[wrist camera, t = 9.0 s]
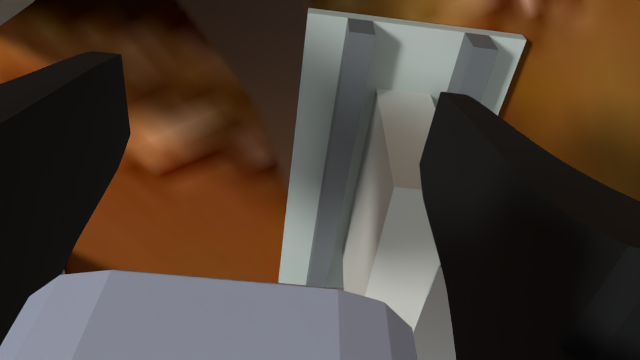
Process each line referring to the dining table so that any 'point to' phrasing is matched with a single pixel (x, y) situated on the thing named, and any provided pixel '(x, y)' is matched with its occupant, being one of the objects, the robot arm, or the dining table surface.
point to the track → (355, 110)
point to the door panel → (392, 209)
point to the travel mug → (12, 8)
